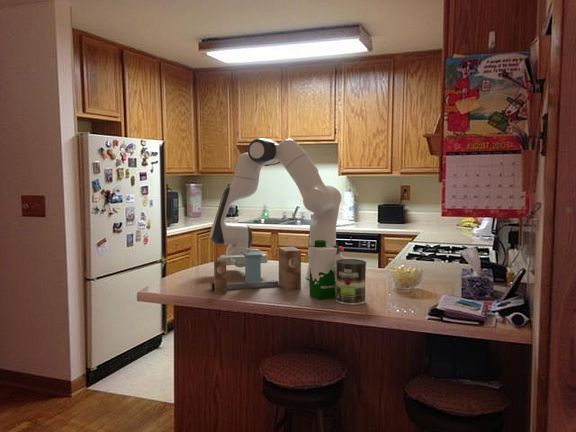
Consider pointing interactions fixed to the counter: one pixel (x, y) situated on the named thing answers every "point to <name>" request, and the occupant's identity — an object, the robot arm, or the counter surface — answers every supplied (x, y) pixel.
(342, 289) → the coffee can
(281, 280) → the gauge cabinet
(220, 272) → the gauge post
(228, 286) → the handrail
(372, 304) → the counter surface
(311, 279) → the milk carton
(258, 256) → the carriage
